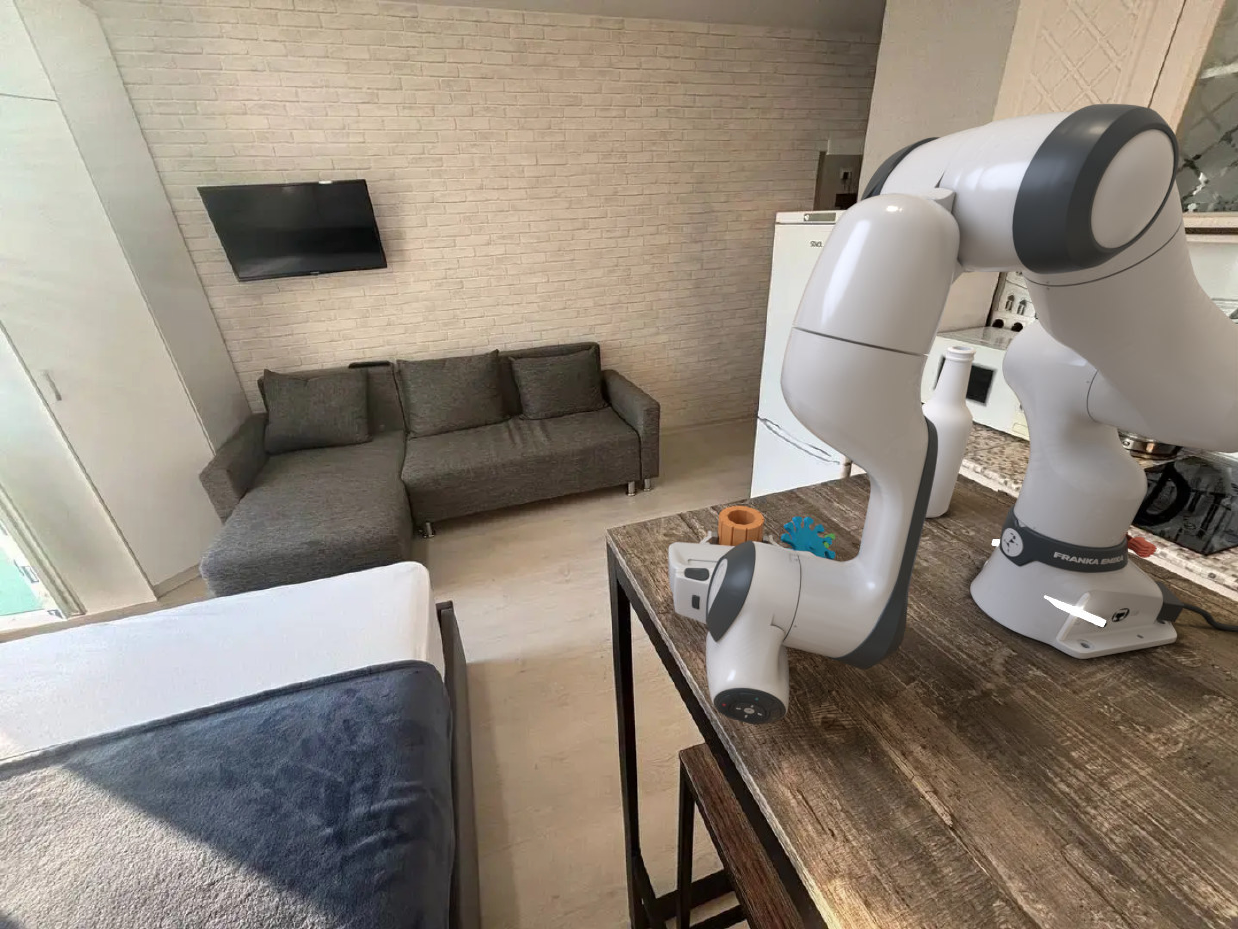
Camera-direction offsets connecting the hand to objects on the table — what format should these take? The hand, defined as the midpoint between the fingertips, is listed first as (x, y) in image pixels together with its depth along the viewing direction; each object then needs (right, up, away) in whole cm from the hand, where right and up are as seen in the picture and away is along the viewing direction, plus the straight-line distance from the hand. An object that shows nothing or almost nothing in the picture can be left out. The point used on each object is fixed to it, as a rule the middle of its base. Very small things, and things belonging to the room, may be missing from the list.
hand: (739, 536), depth 76 cm
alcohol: (+39, +3, +20) cm, 44 cm away
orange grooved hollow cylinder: (0, -5, +1) cm, 5 cm away
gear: (+12, -6, +6) cm, 15 cm away
